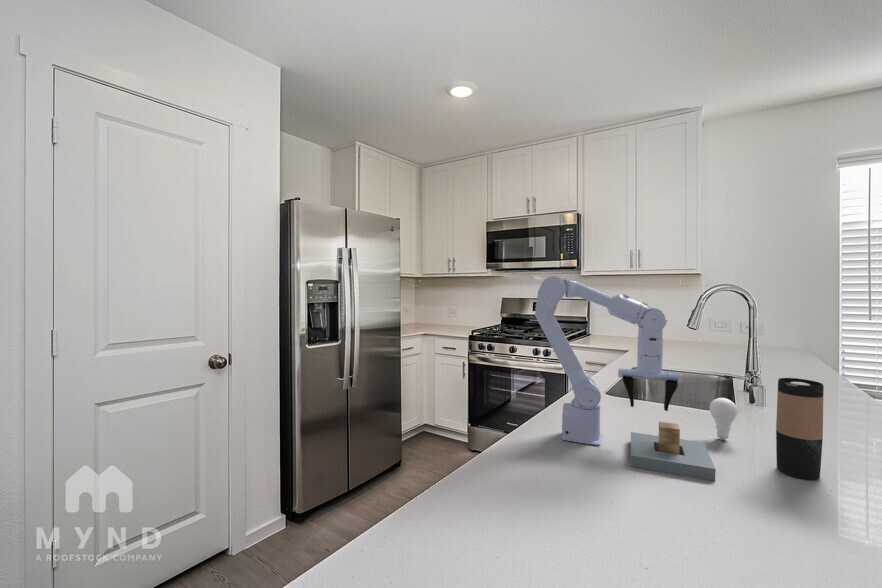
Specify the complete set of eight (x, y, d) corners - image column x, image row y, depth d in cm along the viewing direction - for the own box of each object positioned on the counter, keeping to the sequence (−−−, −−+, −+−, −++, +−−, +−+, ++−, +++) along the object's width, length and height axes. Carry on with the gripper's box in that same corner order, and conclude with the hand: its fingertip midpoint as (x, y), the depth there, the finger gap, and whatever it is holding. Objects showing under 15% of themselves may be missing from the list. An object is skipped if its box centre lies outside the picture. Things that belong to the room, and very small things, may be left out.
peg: (659, 461, 96) (659, 426, 96) (658, 454, 100) (658, 421, 99) (679, 464, 94) (679, 429, 94) (677, 457, 98) (677, 424, 98)
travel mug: (810, 468, 92) (812, 379, 92) (829, 483, 85) (832, 387, 85) (769, 463, 95) (771, 376, 94) (784, 478, 88) (786, 384, 87)
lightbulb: (741, 445, 106) (742, 402, 105) (714, 443, 107) (715, 400, 107) (730, 436, 112) (730, 395, 111) (704, 434, 113) (705, 394, 113)
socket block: (630, 466, 93) (631, 455, 93) (630, 441, 107) (631, 432, 107) (715, 480, 86) (715, 469, 86) (703, 452, 101) (703, 442, 101)
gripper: (618, 354, 105) (617, 408, 105) (684, 359, 99) (683, 416, 99) (619, 350, 111) (618, 401, 111) (681, 354, 105) (680, 408, 105)
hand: (648, 407), depth 106 cm, fingers open, 7 cm apart
